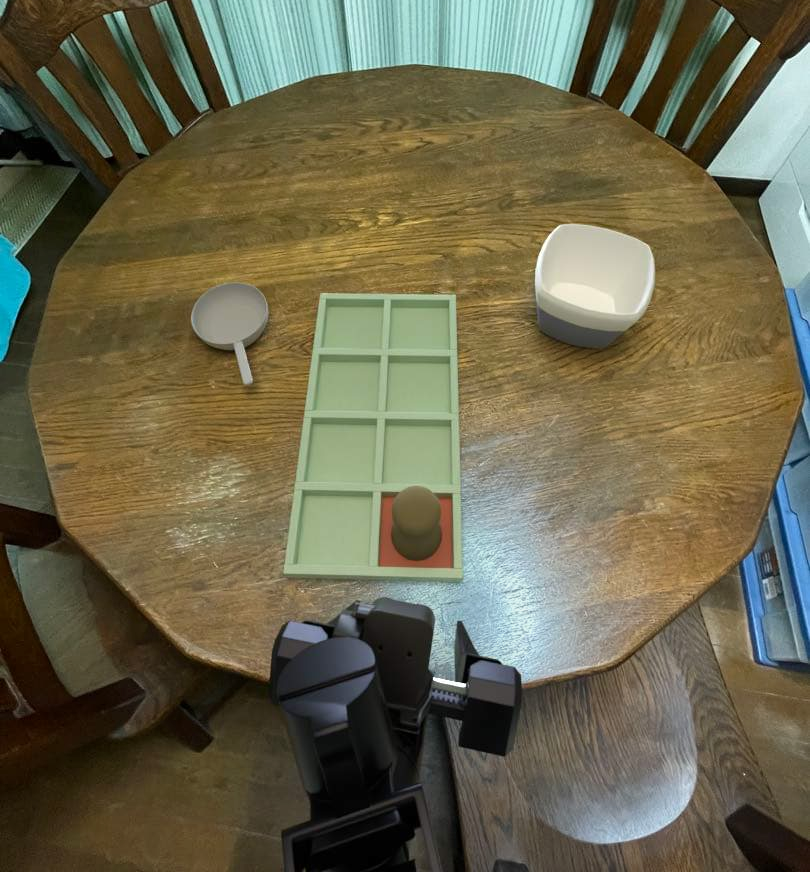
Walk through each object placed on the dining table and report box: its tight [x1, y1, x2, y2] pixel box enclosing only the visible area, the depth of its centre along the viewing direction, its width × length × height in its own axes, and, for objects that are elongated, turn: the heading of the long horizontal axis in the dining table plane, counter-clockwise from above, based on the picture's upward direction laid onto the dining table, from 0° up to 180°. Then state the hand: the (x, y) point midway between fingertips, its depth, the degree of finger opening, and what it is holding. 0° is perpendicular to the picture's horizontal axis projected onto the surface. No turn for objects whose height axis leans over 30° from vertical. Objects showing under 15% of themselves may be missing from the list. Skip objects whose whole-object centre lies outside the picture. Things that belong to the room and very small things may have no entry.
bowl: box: [534, 223, 656, 350], centre depth 82 cm, size 15×15×11 cm
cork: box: [391, 486, 442, 561], centre depth 65 cm, size 6×6×11 cm
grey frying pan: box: [190, 281, 269, 386], centre depth 83 cm, size 11×18×4 cm, turn 21°
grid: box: [282, 292, 464, 583], centre depth 77 cm, size 39×20×2 cm, turn 178°
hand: (408, 614), depth 53 cm, fingers open, 9 cm apart
